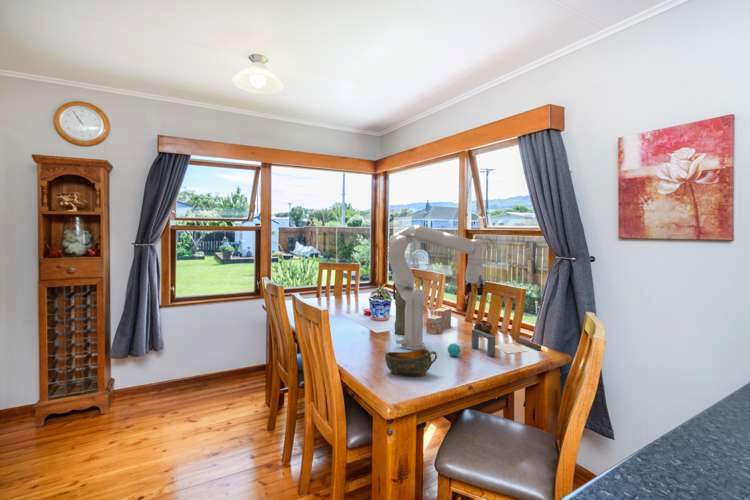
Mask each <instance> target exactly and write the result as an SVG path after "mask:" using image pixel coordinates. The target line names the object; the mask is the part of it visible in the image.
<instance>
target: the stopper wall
mask: <svg viewBox="0 0 750 500" xmlns="http://www.w3.org/2000/svg"><path fill="white" fill-rule="evenodd" d="M515 343H517V344H520V345H522V346H525V347H527V348H530V349H532V350H534V351H537V352H541V351H542V345H540V344H538V343H536V342H532V341H530V340H527V339H524V338H523V337H519V336H518V337H517V336H516V338H515Z"/></svg>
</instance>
